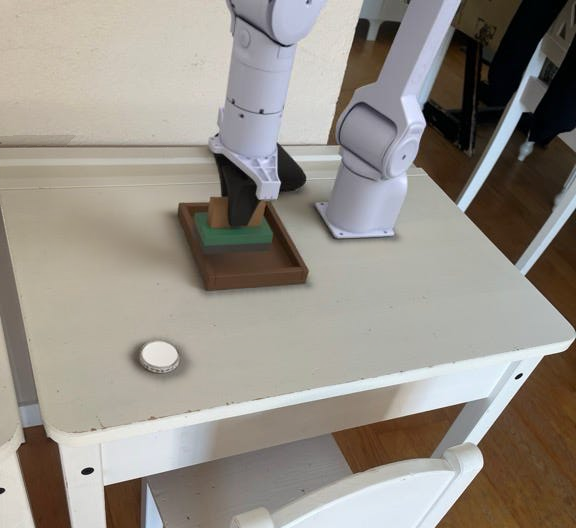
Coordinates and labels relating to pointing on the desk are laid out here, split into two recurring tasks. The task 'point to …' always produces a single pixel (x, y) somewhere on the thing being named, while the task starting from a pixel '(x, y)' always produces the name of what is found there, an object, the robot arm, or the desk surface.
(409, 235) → the desk surface
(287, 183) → the carrying case
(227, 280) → the tray
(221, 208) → the brush
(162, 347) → the white bottle cap
